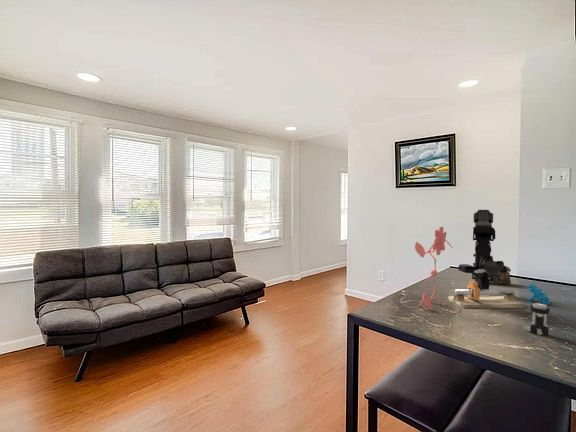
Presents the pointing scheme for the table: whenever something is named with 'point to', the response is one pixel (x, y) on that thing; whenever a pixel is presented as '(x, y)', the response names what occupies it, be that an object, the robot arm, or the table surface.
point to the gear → (538, 295)
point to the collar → (476, 289)
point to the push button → (539, 319)
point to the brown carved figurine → (501, 277)
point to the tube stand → (486, 299)
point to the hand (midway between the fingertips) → (481, 287)
